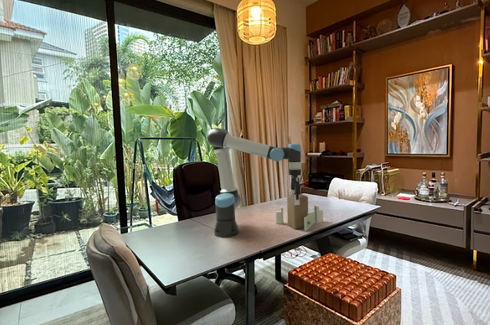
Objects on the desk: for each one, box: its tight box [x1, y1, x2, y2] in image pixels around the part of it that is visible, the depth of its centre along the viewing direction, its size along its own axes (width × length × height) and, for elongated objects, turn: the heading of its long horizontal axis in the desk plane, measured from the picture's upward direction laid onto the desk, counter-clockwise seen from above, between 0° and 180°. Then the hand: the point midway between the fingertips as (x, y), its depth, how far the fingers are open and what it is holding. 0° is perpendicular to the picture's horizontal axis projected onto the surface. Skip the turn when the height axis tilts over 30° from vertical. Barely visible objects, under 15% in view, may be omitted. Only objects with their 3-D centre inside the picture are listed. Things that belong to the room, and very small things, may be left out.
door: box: [303, 209, 316, 232], centre depth 166 cm, size 19×3×8 cm, turn 149°
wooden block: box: [286, 193, 309, 230], centre depth 168 cm, size 10×10×20 cm
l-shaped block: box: [275, 205, 324, 225], centre depth 176 cm, size 31×2×11 cm, turn 89°
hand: (295, 202), depth 166 cm, fingers open, 13 cm apart
